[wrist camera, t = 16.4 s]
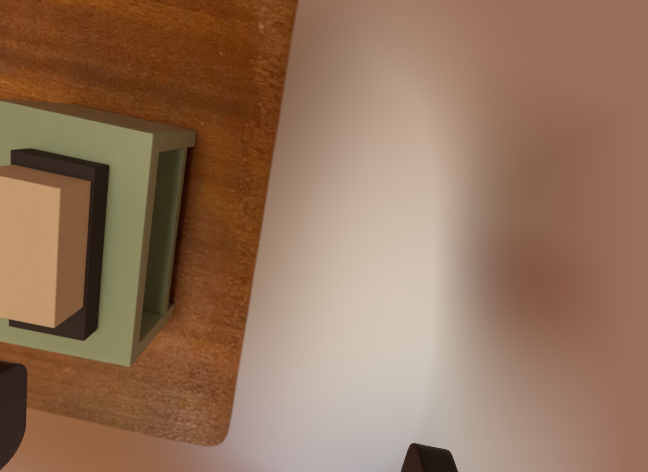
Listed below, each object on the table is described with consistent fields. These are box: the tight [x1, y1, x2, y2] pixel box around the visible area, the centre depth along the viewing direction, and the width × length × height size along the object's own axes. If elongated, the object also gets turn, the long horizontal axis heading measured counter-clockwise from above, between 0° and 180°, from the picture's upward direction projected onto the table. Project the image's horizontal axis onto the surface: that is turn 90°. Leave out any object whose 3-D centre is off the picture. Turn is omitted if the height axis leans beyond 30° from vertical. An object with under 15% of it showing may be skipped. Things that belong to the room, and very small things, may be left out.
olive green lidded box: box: [0, 99, 196, 367], centre depth 38 cm, size 20×12×10 cm, turn 168°
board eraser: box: [0, 148, 109, 341], centre depth 31 cm, size 14×6×6 cm, turn 168°
